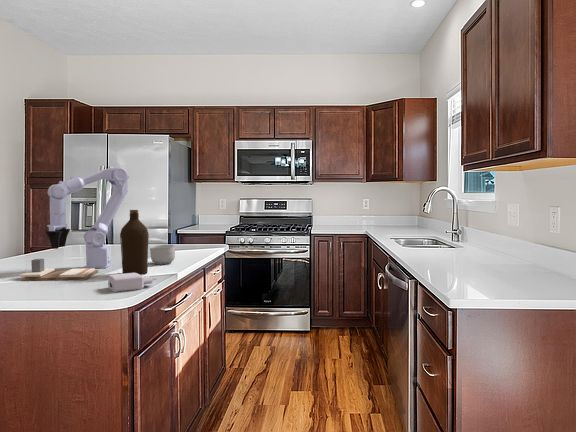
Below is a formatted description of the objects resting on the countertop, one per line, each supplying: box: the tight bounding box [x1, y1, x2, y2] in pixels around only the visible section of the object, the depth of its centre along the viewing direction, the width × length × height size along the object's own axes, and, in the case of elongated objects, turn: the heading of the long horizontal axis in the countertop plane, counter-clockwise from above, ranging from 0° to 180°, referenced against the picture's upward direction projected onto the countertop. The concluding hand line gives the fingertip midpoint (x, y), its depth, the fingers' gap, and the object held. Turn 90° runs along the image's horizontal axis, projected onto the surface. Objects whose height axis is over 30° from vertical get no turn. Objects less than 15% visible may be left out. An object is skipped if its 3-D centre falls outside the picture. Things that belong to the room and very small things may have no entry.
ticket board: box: [22, 269, 99, 282], centre depth 187 cm, size 22×16×1 cm
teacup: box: [149, 244, 176, 265], centre depth 221 cm, size 14×11×8 cm
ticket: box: [59, 268, 96, 277], centre depth 187 cm, size 9×14×1 cm, turn 6°
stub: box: [19, 258, 56, 278], centre depth 186 cm, size 7×14×5 cm, turn 6°
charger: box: [107, 273, 158, 293], centre depth 166 cm, size 5×9×15 cm
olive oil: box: [119, 209, 149, 276], centre depth 193 cm, size 11×11×25 cm
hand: (58, 247), depth 200 cm, fingers open, 7 cm apart
